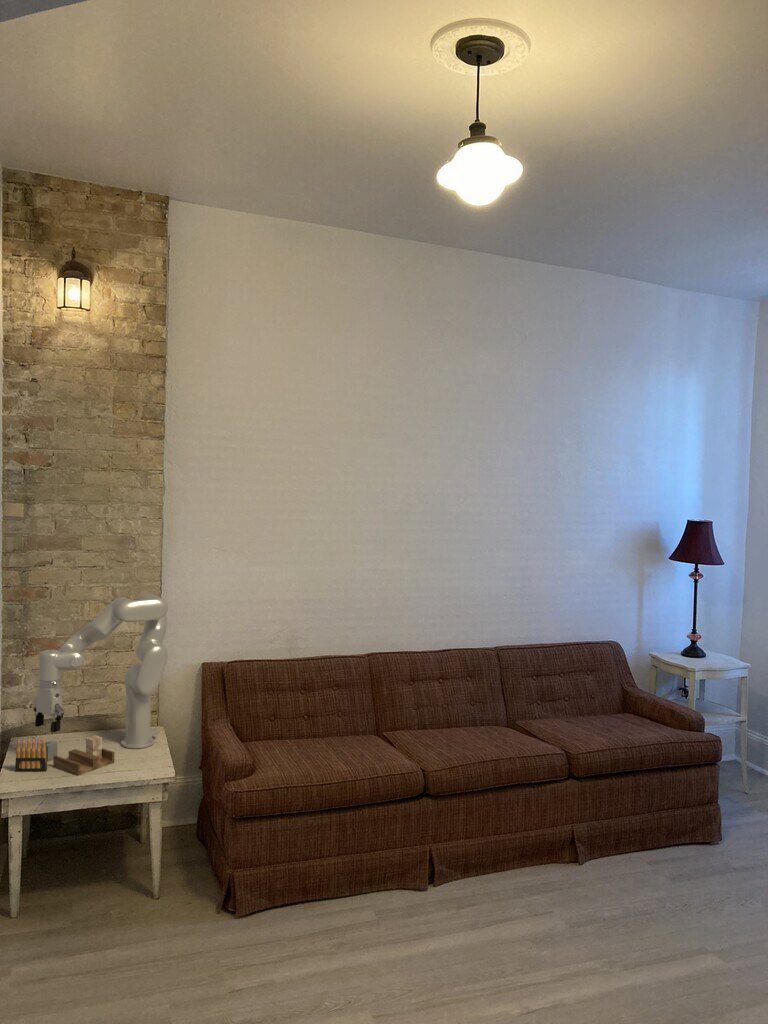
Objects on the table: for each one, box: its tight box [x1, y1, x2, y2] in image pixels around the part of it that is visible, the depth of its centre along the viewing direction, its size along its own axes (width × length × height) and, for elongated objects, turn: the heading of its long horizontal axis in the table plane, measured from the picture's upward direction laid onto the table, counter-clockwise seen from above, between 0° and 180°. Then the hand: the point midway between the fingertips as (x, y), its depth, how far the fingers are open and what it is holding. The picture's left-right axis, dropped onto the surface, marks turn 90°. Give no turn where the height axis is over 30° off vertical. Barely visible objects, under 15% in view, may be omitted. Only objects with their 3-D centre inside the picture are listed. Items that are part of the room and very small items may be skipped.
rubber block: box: [41, 740, 58, 763], centre depth 308 cm, size 4×4×6 cm
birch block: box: [85, 734, 103, 759], centre depth 307 cm, size 4×4×8 cm
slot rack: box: [52, 747, 115, 777], centre depth 303 cm, size 16×14×4 cm
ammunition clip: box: [14, 737, 48, 773], centre depth 296 cm, size 11×2×12 cm, turn 96°
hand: (47, 728), depth 307 cm, fingers open, 9 cm apart
